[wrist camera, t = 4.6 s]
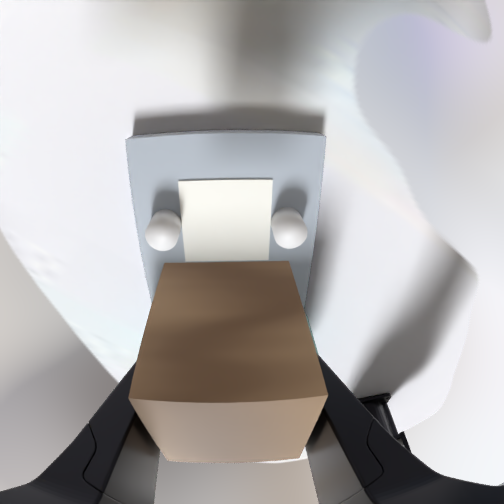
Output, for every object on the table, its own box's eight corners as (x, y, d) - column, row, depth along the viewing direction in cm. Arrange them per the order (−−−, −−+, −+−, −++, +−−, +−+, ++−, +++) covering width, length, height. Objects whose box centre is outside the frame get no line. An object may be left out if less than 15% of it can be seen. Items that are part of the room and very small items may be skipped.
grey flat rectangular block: (319, 132, 16) (335, 141, 13) (283, 394, 28) (287, 415, 26) (132, 135, 15) (115, 145, 12) (182, 396, 28) (180, 418, 25)
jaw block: (288, 260, 10) (328, 395, 5) (279, 344, 12) (298, 458, 7) (164, 262, 9) (128, 398, 5) (179, 346, 11) (168, 460, 7)
